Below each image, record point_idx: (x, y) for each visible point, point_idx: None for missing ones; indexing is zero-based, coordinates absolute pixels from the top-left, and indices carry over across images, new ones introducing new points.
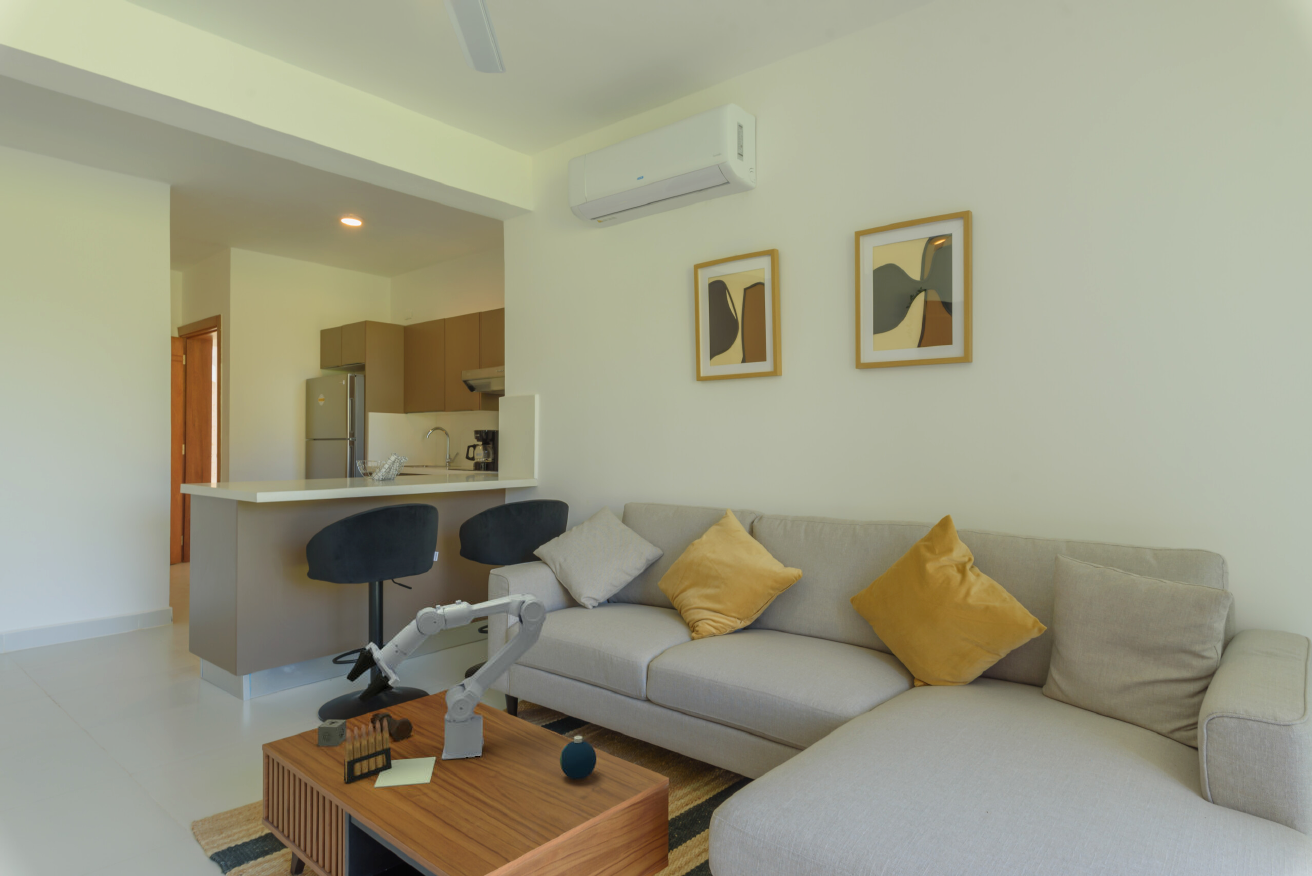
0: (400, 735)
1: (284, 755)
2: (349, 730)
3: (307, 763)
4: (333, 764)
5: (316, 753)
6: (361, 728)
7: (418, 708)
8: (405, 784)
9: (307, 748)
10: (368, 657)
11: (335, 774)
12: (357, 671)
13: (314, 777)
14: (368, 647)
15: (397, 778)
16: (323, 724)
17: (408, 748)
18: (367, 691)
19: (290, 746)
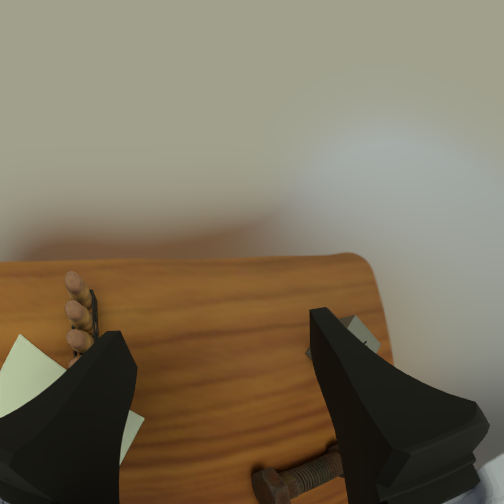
0: (257, 484)
1: (316, 255)
2: (67, 278)
3: (252, 275)
4: (209, 317)
5: (293, 307)
6: (74, 330)
7: None
8: None
9: (326, 300)
10: (381, 482)
11: (149, 300)
12: (331, 377)
13: (166, 259)
14: (496, 480)
15: (26, 394)
16: (361, 328)
17: (192, 484)
18: (70, 368)
19: (350, 278)
